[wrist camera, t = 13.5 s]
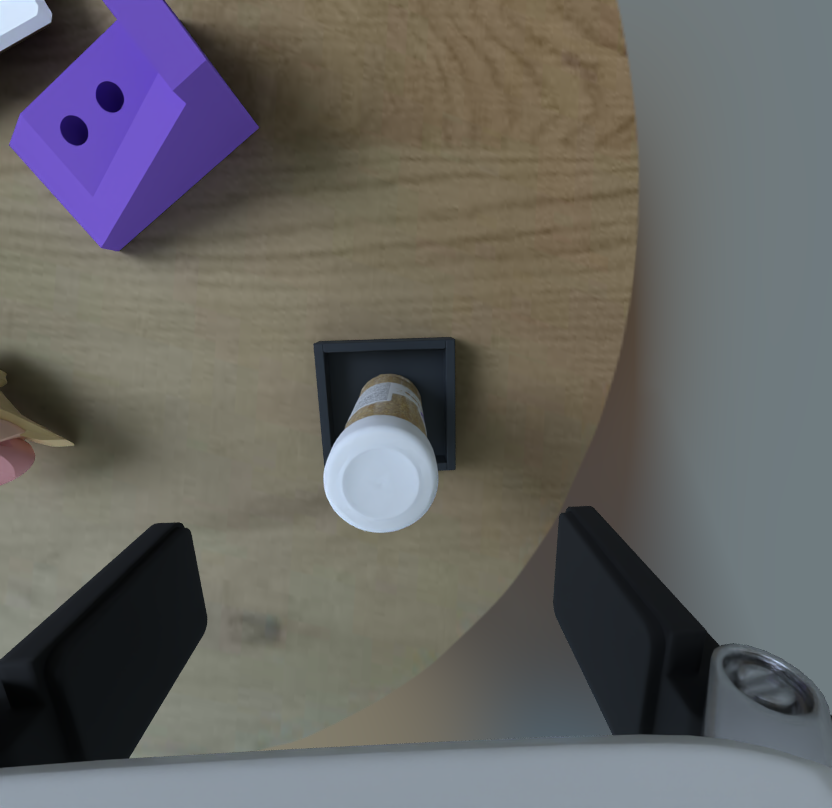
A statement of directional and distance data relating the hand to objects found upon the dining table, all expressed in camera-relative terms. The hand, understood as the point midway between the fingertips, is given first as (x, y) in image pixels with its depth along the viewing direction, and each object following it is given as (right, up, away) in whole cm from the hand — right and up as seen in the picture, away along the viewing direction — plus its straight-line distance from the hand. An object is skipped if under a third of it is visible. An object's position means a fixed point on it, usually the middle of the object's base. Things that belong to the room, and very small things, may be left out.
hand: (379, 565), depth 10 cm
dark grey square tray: (-1, +4, +19) cm, 19 cm away
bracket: (-16, +20, +14) cm, 29 cm away
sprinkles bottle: (-1, +4, +18) cm, 19 cm away
